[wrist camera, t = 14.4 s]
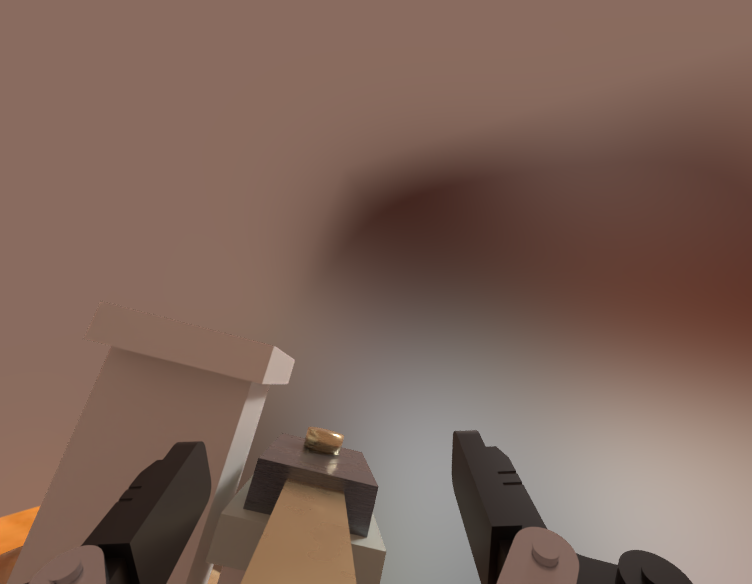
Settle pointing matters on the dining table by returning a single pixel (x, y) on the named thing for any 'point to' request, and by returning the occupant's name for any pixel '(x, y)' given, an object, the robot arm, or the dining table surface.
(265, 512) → the wooden handled tool
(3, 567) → the onion
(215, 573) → the dining table surface
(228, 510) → the stepped stand
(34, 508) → the dining table surface
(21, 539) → the dining table surface
